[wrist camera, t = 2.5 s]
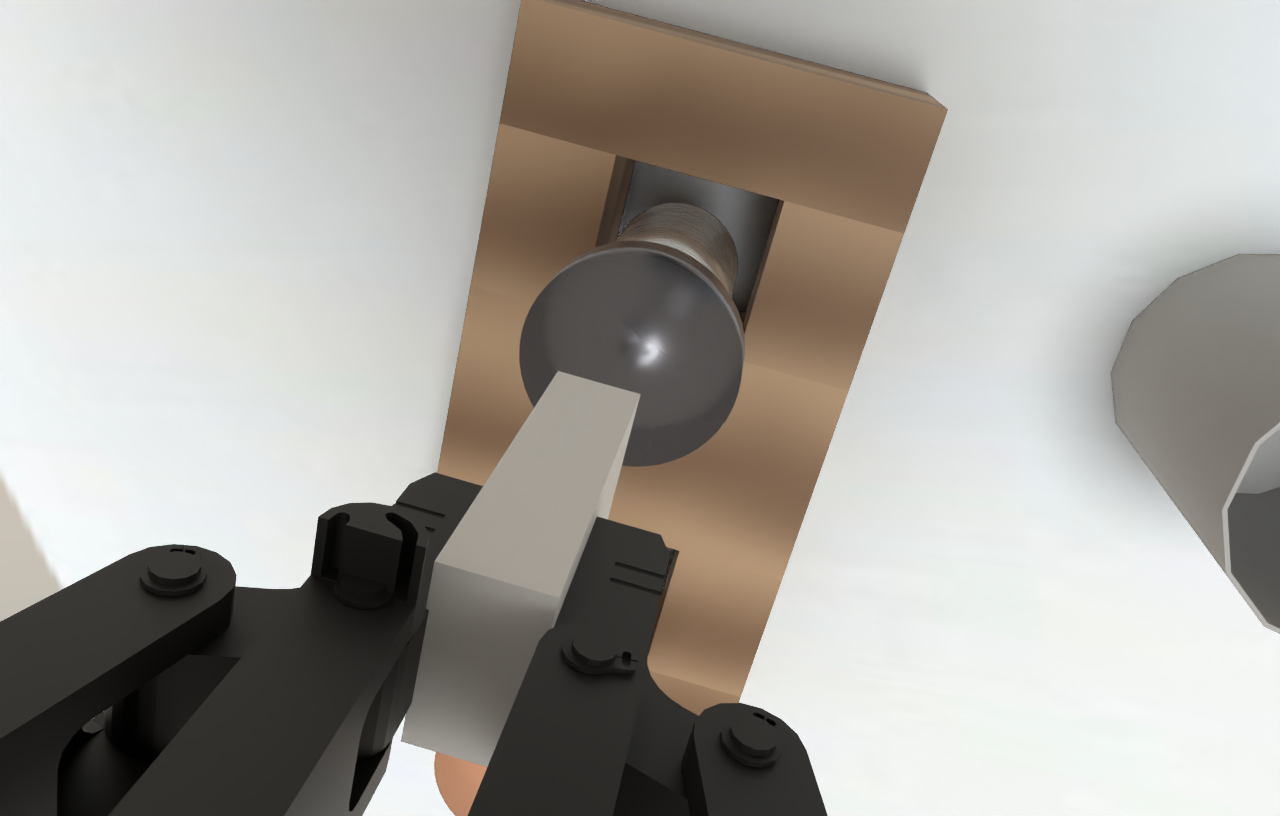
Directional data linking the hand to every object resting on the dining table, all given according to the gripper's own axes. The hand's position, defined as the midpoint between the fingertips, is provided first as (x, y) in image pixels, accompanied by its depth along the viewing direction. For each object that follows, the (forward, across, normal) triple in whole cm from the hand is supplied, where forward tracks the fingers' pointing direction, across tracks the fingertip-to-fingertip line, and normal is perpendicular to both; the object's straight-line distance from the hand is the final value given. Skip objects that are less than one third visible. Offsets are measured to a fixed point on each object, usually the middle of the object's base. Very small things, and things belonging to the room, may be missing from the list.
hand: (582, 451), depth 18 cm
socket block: (+18, 0, -6) cm, 19 cm away
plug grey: (+13, 0, 0) cm, 13 cm away
